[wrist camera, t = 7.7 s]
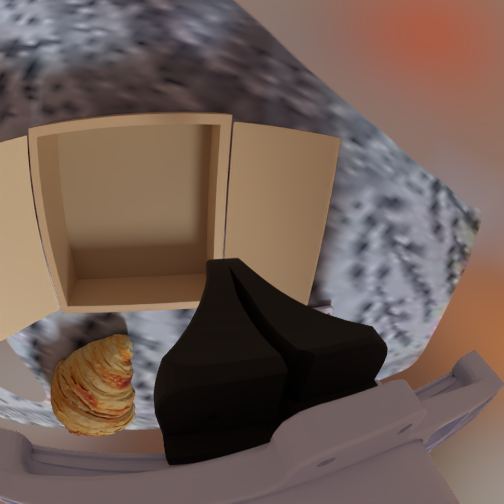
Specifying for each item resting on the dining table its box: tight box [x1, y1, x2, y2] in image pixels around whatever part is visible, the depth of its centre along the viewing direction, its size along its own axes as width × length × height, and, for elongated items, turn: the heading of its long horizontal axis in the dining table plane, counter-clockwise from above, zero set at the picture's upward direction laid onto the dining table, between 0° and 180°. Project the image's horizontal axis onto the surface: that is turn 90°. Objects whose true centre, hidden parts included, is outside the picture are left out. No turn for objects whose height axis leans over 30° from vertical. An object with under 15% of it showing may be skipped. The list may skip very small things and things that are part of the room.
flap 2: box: [225, 122, 341, 305], centre depth 17 cm, size 12×6×1 cm
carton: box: [28, 112, 232, 313], centre depth 18 cm, size 13×12×4 cm
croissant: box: [51, 334, 135, 436], centre depth 25 cm, size 21×10×8 cm, turn 142°
